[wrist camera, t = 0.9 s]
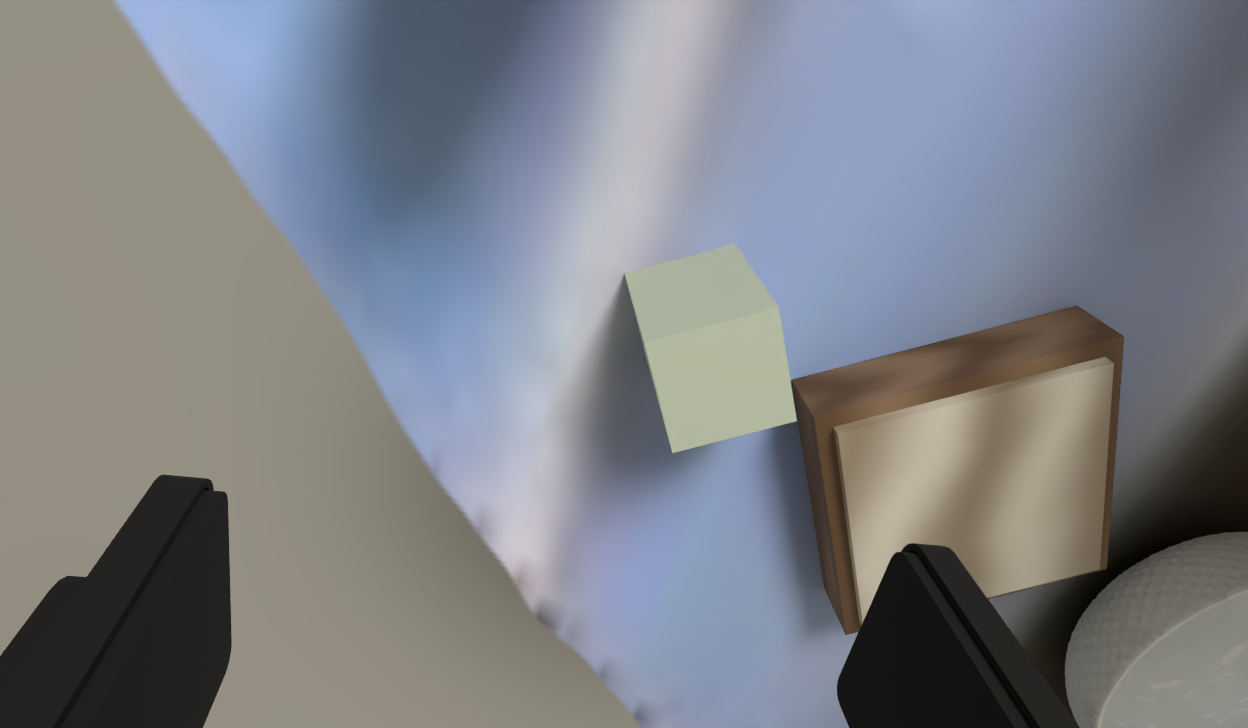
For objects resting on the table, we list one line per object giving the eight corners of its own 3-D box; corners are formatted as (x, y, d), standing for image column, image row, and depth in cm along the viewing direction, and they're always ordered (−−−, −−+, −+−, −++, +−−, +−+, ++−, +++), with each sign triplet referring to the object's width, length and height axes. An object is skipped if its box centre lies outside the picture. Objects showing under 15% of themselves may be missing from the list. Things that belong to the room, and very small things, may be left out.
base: (1077, 305, 38) (1133, 342, 34) (1067, 527, 44) (1114, 577, 41) (791, 380, 38) (818, 424, 35) (824, 588, 45) (849, 643, 41)
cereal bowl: (1092, 479, 43) (1187, 569, 37) (1352, 494, 46) (1482, 580, 39) (986, 697, 51) (1050, 802, 44) (1214, 699, 53) (1304, 799, 47)
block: (734, 243, 35) (778, 307, 28) (752, 342, 37) (796, 421, 31) (624, 273, 35) (644, 342, 29) (649, 369, 37) (672, 453, 31)
